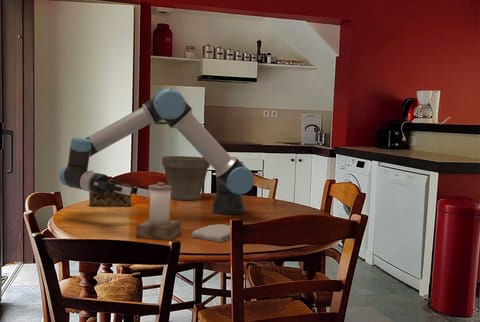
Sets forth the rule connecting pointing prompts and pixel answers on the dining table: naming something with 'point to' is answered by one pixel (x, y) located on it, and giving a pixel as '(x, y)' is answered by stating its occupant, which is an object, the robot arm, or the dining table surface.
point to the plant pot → (185, 176)
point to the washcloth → (213, 233)
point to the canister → (160, 204)
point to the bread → (109, 199)
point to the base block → (158, 230)
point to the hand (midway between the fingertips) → (141, 193)
